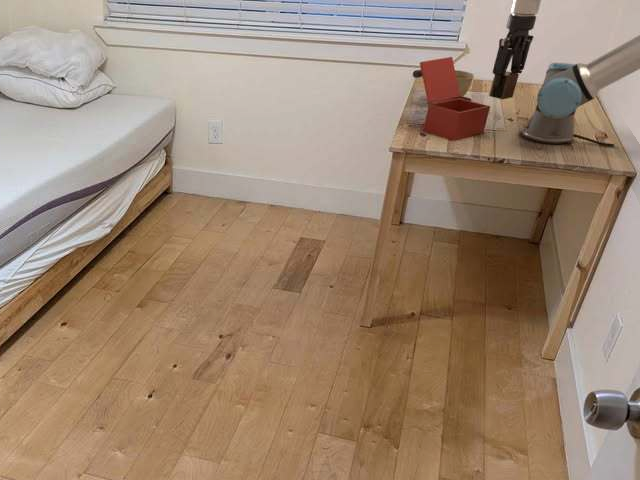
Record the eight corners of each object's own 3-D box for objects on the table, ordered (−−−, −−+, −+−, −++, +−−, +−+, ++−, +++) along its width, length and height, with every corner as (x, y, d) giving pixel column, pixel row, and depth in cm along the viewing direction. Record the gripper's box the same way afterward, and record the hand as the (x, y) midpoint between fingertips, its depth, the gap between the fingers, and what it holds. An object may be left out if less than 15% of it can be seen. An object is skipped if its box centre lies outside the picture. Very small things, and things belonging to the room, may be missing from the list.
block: (512, 97, 215) (519, 73, 211) (502, 99, 213) (509, 75, 209) (498, 93, 219) (505, 70, 215) (488, 96, 217) (495, 72, 213)
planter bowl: (469, 101, 266) (476, 71, 260) (463, 110, 254) (471, 80, 248) (426, 96, 272) (433, 67, 266) (419, 105, 261) (425, 75, 254)
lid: (452, 56, 233) (432, 66, 240) (421, 61, 226) (401, 71, 233) (460, 96, 235) (440, 104, 242) (429, 102, 228) (410, 110, 235)
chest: (483, 132, 231) (490, 106, 226) (453, 140, 225) (460, 112, 220) (452, 124, 240) (458, 98, 235) (422, 130, 233) (428, 104, 228)
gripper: (530, 10, 209) (508, 89, 222) (493, 15, 201) (473, 97, 215) (552, 13, 204) (529, 94, 217) (515, 18, 196) (493, 102, 209)
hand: (501, 95), depth 216 cm, fingers closed on block, 5 cm apart
